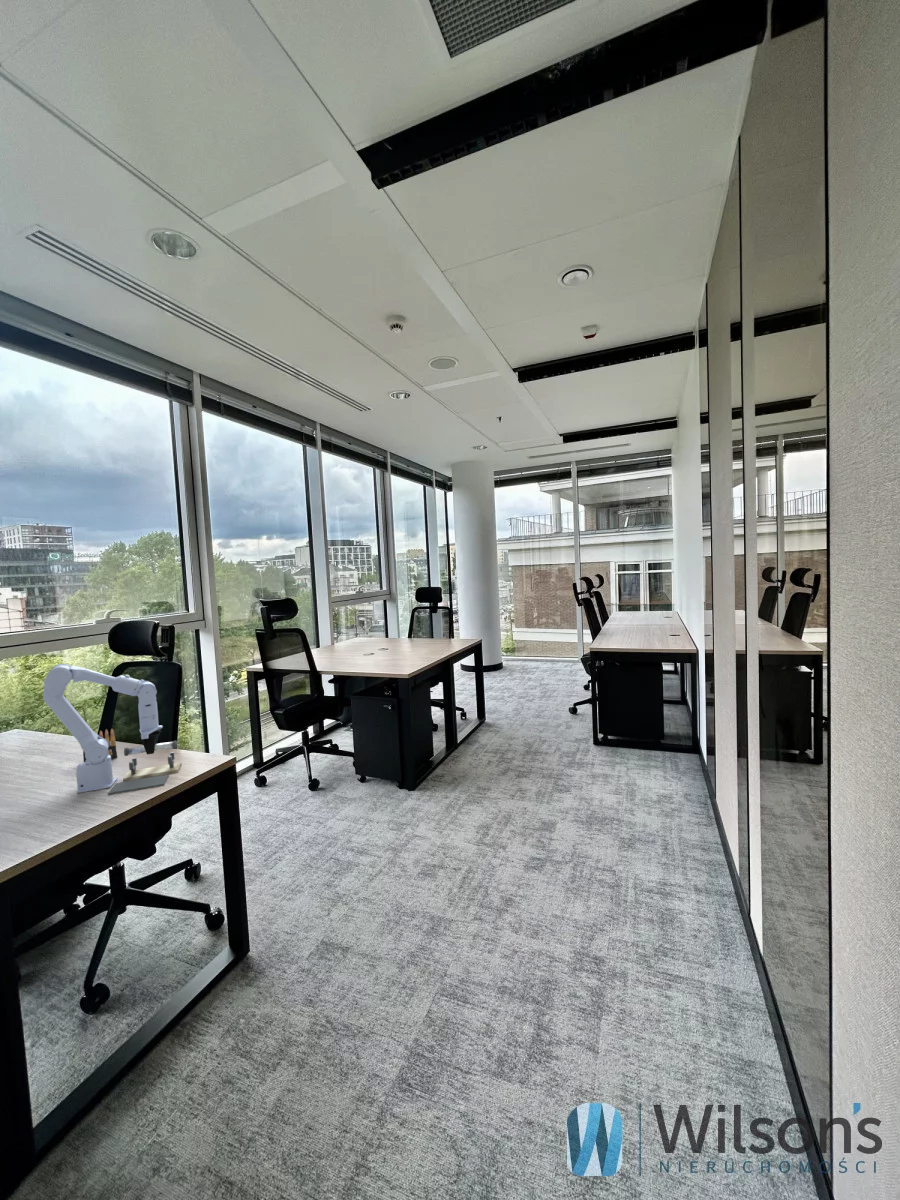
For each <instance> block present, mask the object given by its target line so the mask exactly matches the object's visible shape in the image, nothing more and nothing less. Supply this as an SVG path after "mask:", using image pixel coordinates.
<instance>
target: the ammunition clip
mask: <svg viewBox="0 0 900 1200" xmlns="http://www.w3.org/2000/svg"><path fill="white" fill-rule="evenodd" d="M94 732H95V733H97V731H94ZM98 736H99V737H101V738H104V739H106V740H107V741H108V743H109V747H108V754H109V755H110V756H111V760H114V759H117V758H118V752H117V743H116V737H115V732H114V729H113V728H111V729H110V735H109V731H108V729H107V728H106V729H105V731H104V735H103V731H102V730H100V731H99V734H98ZM82 755H83V763H84V762H85V760H86V758H85V752H84V751H83V750H82Z"/></svg>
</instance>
